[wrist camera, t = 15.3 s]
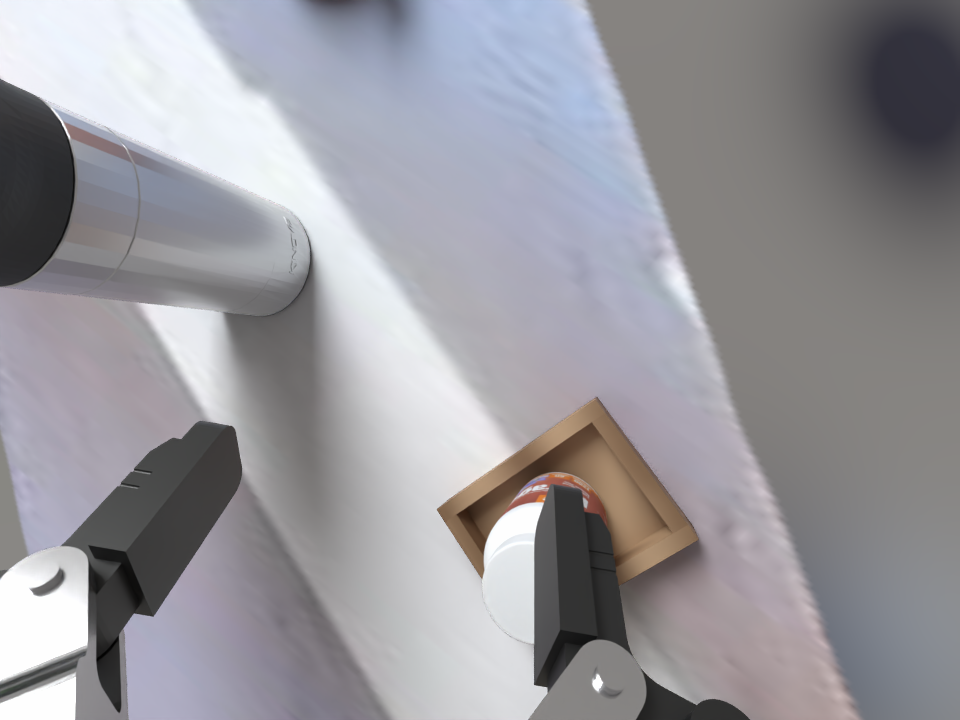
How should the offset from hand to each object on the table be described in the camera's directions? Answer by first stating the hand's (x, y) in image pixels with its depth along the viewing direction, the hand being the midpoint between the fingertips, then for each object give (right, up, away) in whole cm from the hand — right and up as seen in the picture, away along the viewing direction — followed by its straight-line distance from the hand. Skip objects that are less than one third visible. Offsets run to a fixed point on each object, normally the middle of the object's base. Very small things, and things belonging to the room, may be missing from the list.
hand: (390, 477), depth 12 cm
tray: (+8, -7, +21) cm, 23 cm away
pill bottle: (+8, -7, +20) cm, 23 cm away
